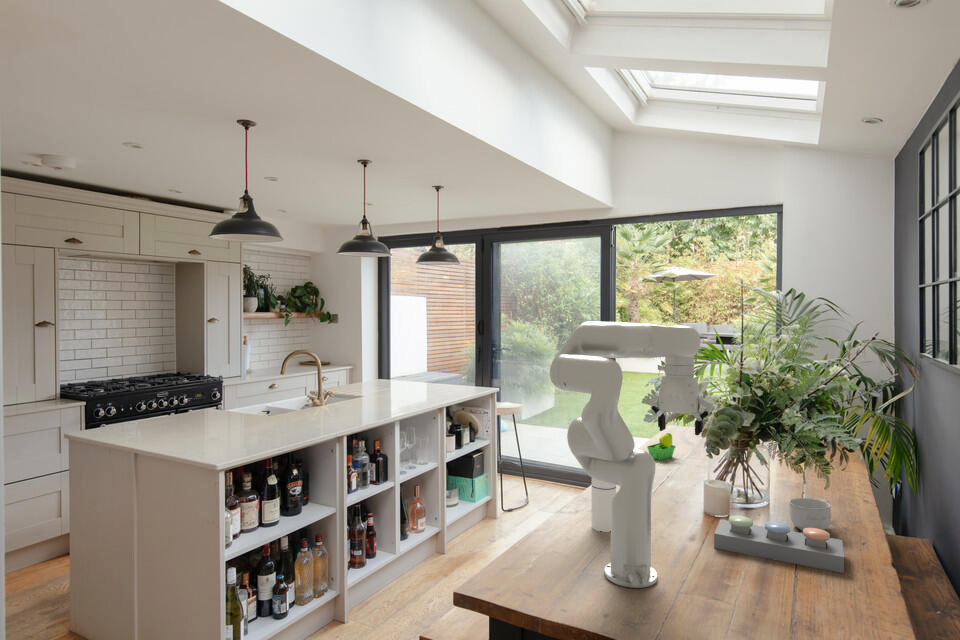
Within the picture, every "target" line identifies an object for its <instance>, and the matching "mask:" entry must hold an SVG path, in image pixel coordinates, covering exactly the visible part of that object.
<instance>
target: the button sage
mask: <svg viewBox="0 0 960 640" xmlns="http://www.w3.org/2000/svg"><path fill="white" fill-rule="evenodd" d="M728 521H729V523H730V524H731V532H735V533H740V534H746V535H750V527H751V526H753V525H754V523H753V519H752V518H750V517H747V516H743V515H730V516H729V517H728Z"/></svg>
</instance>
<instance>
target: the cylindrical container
mask: <svg viewBox="0 0 960 640" xmlns="http://www.w3.org/2000/svg"><path fill="white" fill-rule="evenodd" d="M616 493H617V485H616V484H613V483H609V482H605V481H601V480H597V479H594V478H592V477H591V528H592V530H594V531H596V532H600V531H602V532H601V533H611V532H610V531H611V502H612V499H613V497H614V496H615V495H616Z"/></svg>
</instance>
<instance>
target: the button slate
mask: <svg viewBox="0 0 960 640" xmlns="http://www.w3.org/2000/svg"><path fill="white" fill-rule="evenodd" d="M764 527H765V529H766V530H768V539H774V540H780V541H785V542H787V533H789V532H790V531H791V527H790V525H788V524H786V523H783V522H779V521H766V522H764Z"/></svg>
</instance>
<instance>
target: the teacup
mask: <svg viewBox="0 0 960 640" xmlns="http://www.w3.org/2000/svg"><path fill="white" fill-rule="evenodd" d="M788 503H789V516H790V521H791V522H792V524H793V525H794V526H796V528H798V529H799V530H800V531H803V529H804V528H817V529H821V530H824V531H826V530H828V528H829V527H830V526H831V523H832V514H831V508H832V507H831V506H832V504H830V502H829V501H828V500H827V499H817V498H812V497H797V498H796V497H794V498H791V499H789V500H788Z"/></svg>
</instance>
